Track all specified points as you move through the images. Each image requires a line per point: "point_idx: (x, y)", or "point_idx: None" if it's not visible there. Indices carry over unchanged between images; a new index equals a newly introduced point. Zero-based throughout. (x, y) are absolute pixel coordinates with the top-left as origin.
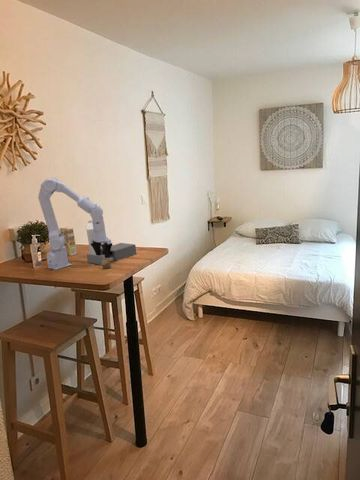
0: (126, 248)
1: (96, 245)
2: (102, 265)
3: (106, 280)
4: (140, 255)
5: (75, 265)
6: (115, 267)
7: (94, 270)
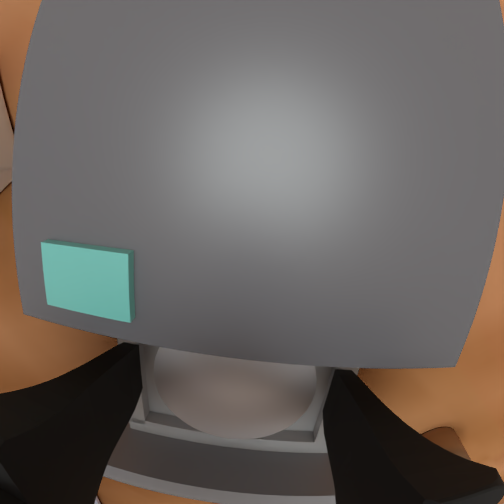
0: (495, 77)
1: (73, 493)
2: None
3: None
4: None
5: None
6: (486, 416)
7: None
